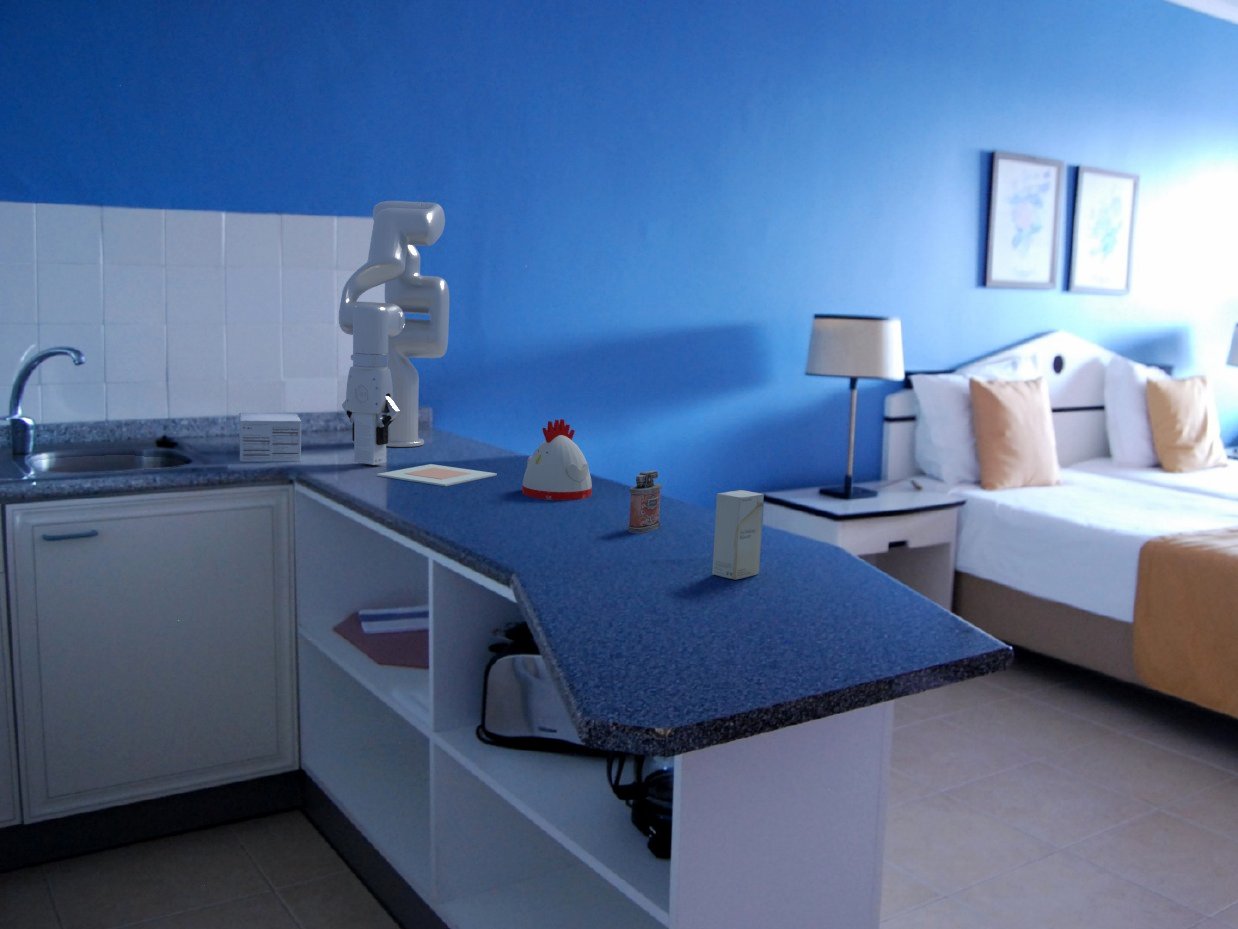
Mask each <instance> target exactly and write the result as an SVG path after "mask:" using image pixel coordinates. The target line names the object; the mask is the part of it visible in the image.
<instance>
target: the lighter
mask: <svg viewBox="0 0 1238 929" xmlns="http://www.w3.org/2000/svg"><path fill="white" fill-rule="evenodd" d="M656 479H659V472H658V470H651V471H640V473H639V474H637V475H635V482H636V483H635V484H636V485H634V486H631V487H629V493H630V504H629V506H630V507H629V523H628V524H629V525H628V526H627V532H629V533H632V534H643V533H646V532H651V531H654V530H656V529H659V528H660V527H661V526H660V524H661V521H660V506H661V490H663V489H662V488H663V487H662V486H663V485H662V484H661V483H655V480H656Z"/></svg>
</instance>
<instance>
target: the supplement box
mask: <svg viewBox="0 0 1238 929" xmlns="http://www.w3.org/2000/svg"><path fill="white" fill-rule="evenodd" d="M238 415H239V417H238V418H239V420H238V421H239V422H238V426H239V427H238V438H239V439H238V440H239V442H238V443H239V448H238V449H239V462H240V463H241V462H246V463H247V462H248V463H249V462H250V463H254V462H256V463H257V462H259V463H261V462H262V463H264V462H265V463H269V462H272V463H273V462H274V463H275V462H276V463H277V462H282V463H283V462H285V463H287V462H290V463H291V462H295V463H296V462H300V463H301V461H302V455H301V454H302V420H301V418H300V417H299V415H298V413H295V412H240V413H239V414H238Z"/></svg>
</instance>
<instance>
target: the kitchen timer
mask: <svg viewBox="0 0 1238 929" xmlns="http://www.w3.org/2000/svg"><path fill="white" fill-rule="evenodd" d="M541 428H542V429H541V430H542V433H543V435H544V440H543V441H542V442H541V443H540V444H539V445H538V446H537V447H536V449H534V452H533V453H532V455H529V457H528V458H527V461H526V469H525V472H524V474H523V479H522V487H521V493H522V494H523V495H524V496H526V497H529V498H534V499H541V500H550V501H575V500H583V499H587V498H590V497H591V496H592V490H593V484H592V478H591V474H590V469H589V463H588V462H587V460H586V457H585V455H584V454H583V452H582V450H581V448H579V446H578V445H577V443H575V442H574V441H573V438H574V435H575V431H576V430H575V429H570V428H571V424H568V423H566V424H565V419H562V418H561V419H560V420H559V419H554V423H553V421H552V420H548V421H547V428H546V427H541Z"/></svg>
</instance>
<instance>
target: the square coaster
mask: <svg viewBox="0 0 1238 929" xmlns="http://www.w3.org/2000/svg"><path fill="white" fill-rule="evenodd" d="M497 474H498V473H495V472H488V471H482V470H481V471H480V470H475V469H470V468H469V469H468V468H460V467H452V466H446V465H440V464H439V465H438V464H432V463H430V464H425V465H419V466H414V467H412V466H411V467H407V468H403V469H396V470H392V471H386V472H380V473H377V474H376V476H377V477H381V478H387V479H395V480H401V481H406V482H407V481H409V482H413V483H414V482H416V483H420V484H426V485H428V484H429V485H433V486H434V485H435V486H441V487H448V486H453V485H459V484H462V483H463V484H464V483H468V482H472V481H476V480H477V481H478V480H480V479H481V480H482V479H486V478H491V477H495V476H497Z"/></svg>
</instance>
